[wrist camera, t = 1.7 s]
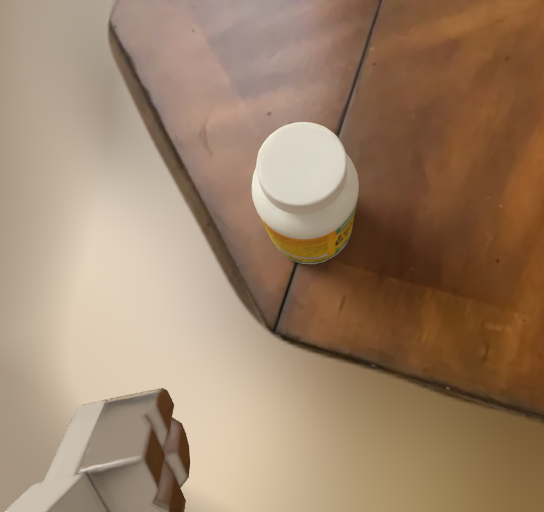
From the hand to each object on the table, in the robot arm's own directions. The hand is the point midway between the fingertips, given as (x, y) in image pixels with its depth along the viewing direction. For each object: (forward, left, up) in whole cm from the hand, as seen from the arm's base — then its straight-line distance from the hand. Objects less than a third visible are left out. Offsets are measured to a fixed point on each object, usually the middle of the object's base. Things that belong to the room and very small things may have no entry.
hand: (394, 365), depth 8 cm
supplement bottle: (-3, +8, -20) cm, 22 cm away
